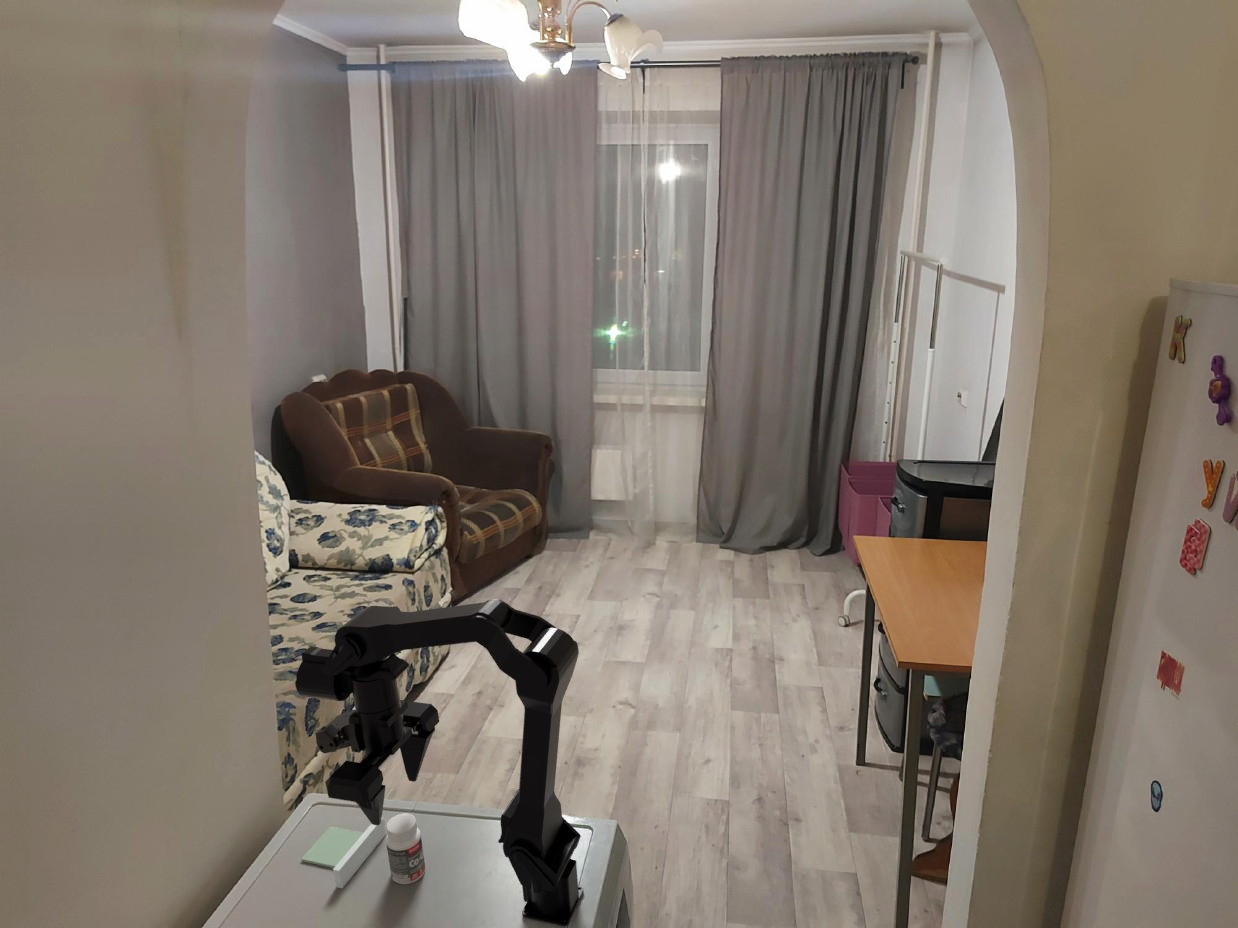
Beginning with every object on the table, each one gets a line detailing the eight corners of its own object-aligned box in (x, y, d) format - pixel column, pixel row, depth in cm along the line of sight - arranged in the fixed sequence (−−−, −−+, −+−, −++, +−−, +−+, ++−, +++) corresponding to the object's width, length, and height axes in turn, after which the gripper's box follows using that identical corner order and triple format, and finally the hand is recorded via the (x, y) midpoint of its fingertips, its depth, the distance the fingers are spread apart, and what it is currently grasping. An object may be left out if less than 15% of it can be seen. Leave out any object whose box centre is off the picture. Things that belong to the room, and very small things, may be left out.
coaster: (370, 836, 128) (370, 833, 128) (342, 869, 121) (342, 867, 121) (331, 828, 130) (330, 825, 130) (301, 860, 124) (301, 858, 123)
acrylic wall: (386, 833, 128) (383, 817, 127) (342, 888, 118) (339, 870, 117) (380, 832, 128) (377, 816, 127) (336, 886, 118) (332, 869, 117)
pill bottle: (417, 887, 118) (409, 836, 115) (385, 883, 119) (377, 833, 116) (431, 862, 122) (424, 813, 120) (400, 858, 123) (393, 809, 121)
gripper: (365, 660, 124) (382, 753, 128) (280, 735, 107) (302, 839, 111) (433, 667, 120) (448, 763, 125) (356, 746, 103) (376, 853, 108)
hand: (395, 801), depth 117 cm, fingers open, 9 cm apart
